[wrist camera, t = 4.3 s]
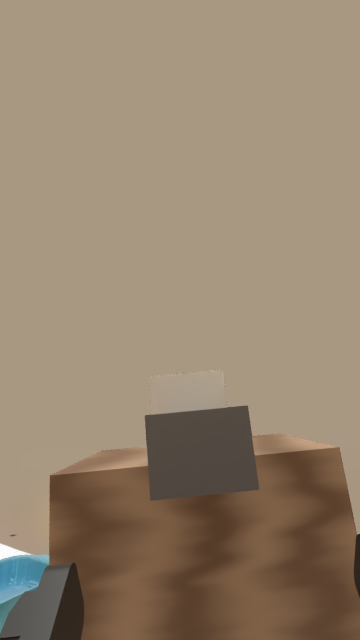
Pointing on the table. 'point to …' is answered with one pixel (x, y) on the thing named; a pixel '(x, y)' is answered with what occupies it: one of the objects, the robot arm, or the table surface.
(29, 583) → the casserole dish
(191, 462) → the plug
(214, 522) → the stand
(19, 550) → the table surface
